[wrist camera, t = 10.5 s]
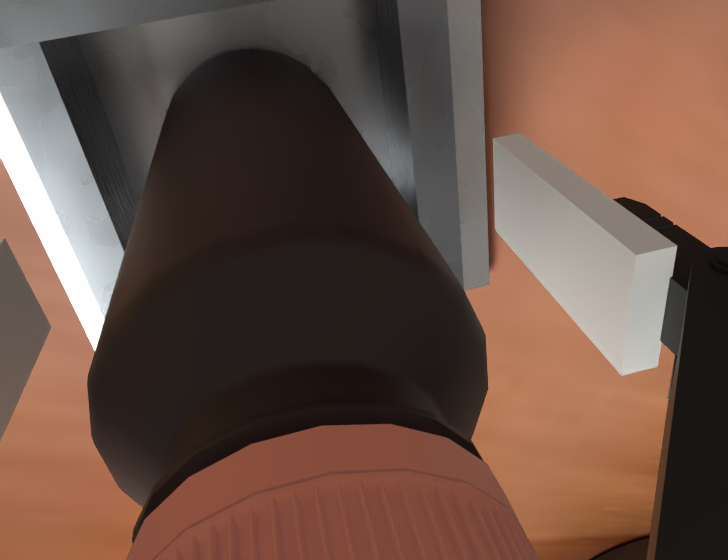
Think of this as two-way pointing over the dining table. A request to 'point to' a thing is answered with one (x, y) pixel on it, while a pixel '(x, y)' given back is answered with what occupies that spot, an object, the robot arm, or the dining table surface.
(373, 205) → the vinegar
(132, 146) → the duct collar
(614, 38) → the dining table surface
